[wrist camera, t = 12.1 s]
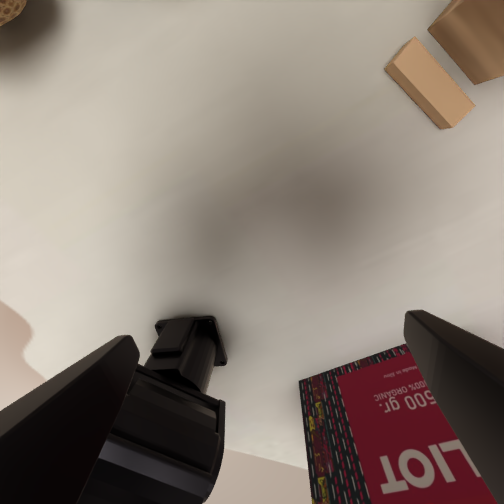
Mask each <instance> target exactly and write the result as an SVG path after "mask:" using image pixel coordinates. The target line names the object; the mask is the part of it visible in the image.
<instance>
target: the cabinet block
mask: <svg viewBox="0 0 504 504" xmlns="http://www.w3.org/2000/svg"><path fill="white" fill-rule="evenodd" d="M428 31H429V32H430V33H431V34H432V35H433V37H434V38H435V39H436V40H437V41H438V42H439V44H440V45H441V46H442V47H443V48H444V50H445V51H446V52H447V53H448V54H449V55H450V57H451V58H452V59H453V60H454V61H455V62H456V64H457V65H458V66H459V67H460V68H461V69H462V71H463V72H464V73H465V74H466V75H467V77H468V78H469V79H470V80H471V81H472V82H473V84H474V85H476V84H479V83H482V82H485V81H488V80H491V79H494V78H497V77H500V76H504V0H452V1H451V2H450V4H449V5H448V6H447V7H446V8H445V9H444V11H443V12H442V13H441V14H440V15H439V17H438V18H437V19H436V20H435V21H434V23H433V24H432V25H431V26H430V27H429V28H428Z"/></svg>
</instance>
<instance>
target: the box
mask: <svg viewBox="0 0 504 504" xmlns="http://www.w3.org/2000/svg"><path fill="white" fill-rule="evenodd" d="M299 388H300V397H301V406H302V416H303V425H304V434H305V443H306V452H307V461H308V470H309V479H310V488H311V497H312V504H498V503H497V502H496V500H495V499H494V497H493V495H492V494H491V492H490V490H489V489H488V487H487V485H486V484H485V482H484V480H483V479H482V477H481V475H480V474H479V472H478V470H477V469H476V467H475V466H474V464H473V462H472V461H471V459H470V457H469V456H468V454H467V452H466V451H465V449H464V447H463V446H462V444H461V442H460V441H459V439H458V438H457V436H456V434H455V433H454V431H453V429H452V428H451V426H450V424H449V423H448V421H447V419H446V418H445V416H444V414H443V413H442V411H441V409H440V408H439V406H438V405H437V403H436V401H435V399H434V398H433V396H432V394H431V393H430V391H429V389H428V387H427V385H426V383H425V381H424V378H423V376H422V374H421V372H420V370H419V368H418V366H417V364H416V362H415V360H414V358H413V356H412V353H411V351H410V349H409V347H408V345H407V343H406V344H403V345H400V346H397V347H394V348H391V349H389V350H386V351H383V352H380V353H377V354H374V355H372V356H369V357H366V358H363V359H360V360H357V361H354V362H352V363H349V364H346V365H343V366H340V367H337V368H334V369H332V370H329V371H326V372H323V373H320V374H317V375H315V376H312V377H309V378H306V379H303V380H300V381H299Z"/></svg>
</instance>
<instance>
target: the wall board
mask: <svg viewBox="0 0 504 504" xmlns="http://www.w3.org/2000/svg"><path fill="white" fill-rule="evenodd" d="M385 70H386V71H387V73H388V74H389V75H390V76H391V77H392V78H393V79H394V80H395V81H396V82H397V83H398V84H399V85H400V86H401V87H402V89H403V90H404V91H405V92H406V93H407V94H408V95H409V96H410V97H411V98H412V99H413V100H414V101H415V102H416V103H417V105H418V106H419V107H420V108H421V109H422V110H423V111H424V112H425V113H426V114H427V115H428V116H429V117H430V118H431V120H432V121H433V122H434V123H435V124H436V125H437V126H438V127H439V128H440V129H446V128H453V127H454V126H455V125H456V124H457V123H458V122H459V121H460V120H461V119H462V118H463V117H464V116H465V115H466V114H467V113H469V112H470V111H471V110H472V109H473V108H474V107H475V104H474V103H473V102H472V101H471V100H470V99H469V98H468V96H467V95H466V94H465V93H464V92H463V91H462V90H461V88H460V87H459V86H458V85H457V84H456V83H455V81H454V80H453V79H452V78H451V77H450V76H449V75H448V73H447V72H446V71H445V70H444V69H443V68H442V67H441V65H440V64H439V63H438V62H437V61H436V60H435V59H434V57H433V56H432V55H431V54H430V53H429V52H428V51H427V49H426V48H425V47H424V46H423V45H422V44H421V43H420V41H419V40H418V39H417V38H416V37H413V38H412V39H411V40H410V41H408V42H407V43H406V44H405V45H404V46H403V47H402V48H401V49H400V51H399V52H398V53H397V54H396V55H395V57H394V58H393V59H392V60H391V62H390V63H389V64H388V65H387V66H386V68H385Z"/></svg>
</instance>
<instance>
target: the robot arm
mask: <svg viewBox="0 0 504 504" xmlns="http://www.w3.org/2000/svg"><path fill="white" fill-rule="evenodd" d="M209 321H212V322H209ZM159 325H160V326H159ZM155 329H156V331H157V333H158V336H159V338H158V339H157V341H156V343H155V344H154V346H153V348H152V349H151V355H150V357H149V358H148V360H147V362H146V363H145V365H144V366H141V365H139V364H138V361H139V358H140V353H139V350H138V348H137V346H136V344H135V341H134V339H133V337H132V336H130V335H120V336H117V337H115V338H114V339H112V340H111V341H109V342H108V343H106V344H104V345H103V346H101V347H100V348H98V349H97V350H95V351H93V352H92V353H90V354H89V355H87V356H86V357H84V358H82V359H81V360H79V361H78V362H76V363H75V364H73V365H71V366H70V367H68V368H67V369H65V370H64V371H62V372H61V373H59V374H57V375H56V376H54V377H53V378H51V379H50V380H48V381H47V382H45V383H43V384H42V385H40V386H39V387H37V388H36V389H34V390H33V391H31V392H29V393H28V394H26V395H25V396H23V397H21V398H20V399H18V400H17V401H15V402H14V403H12V404H11V405H9V406H7V407H6V408H4V409H3V410H1V411H0V504H202V503H204V502H205V501H206V500H207V499H208V497H209V495H210V494H211V492H212V490H213V487H214V485H215V482H216V480H217V477H218V474H219V471H220V467H221V463H222V458H223V453H224V437H225V402H224V401H222V400H217V399H215V398H213V397H210V396H208V395H206V392H207V388H208V384H209V381H210V377H211V374H212V370H213V367H214V366H225V365H226V364H227V356H226V353H225V350H224V346H223V343H222V340H221V336H220V333H219V329H218V326H217V323H216V319H215V318H214V317H212V316H206V317H196V318H183V319H173V320H164V321H158V322H157V323H156V325H155ZM404 338H405V341H406V343H407V345H408V347H409V349H410V351H411V353H412V356H413V358H414V360H415V362H416V364H417V366H418V368H419V370H420V372H421V374H422V376H423V378H424V381H425V383H426V385H427V387H428V389H429V391H430V393H431V394H432V396H433V398H434V399H435V401H436V403H437V405H438V406H439V408H440V409H441V411H442V413H443V414H444V416H445V418H446V419H447V421H448V423H449V424H450V426H451V428H452V429H453V431H454V433H455V434H456V436H457V438H458V439H459V441H460V442H461V444H462V446H463V447H464V449H465V451H466V452H467V454H468V456H469V457H470V459H471V461H472V462H473V464H474V466H475V467H476V469H477V470H478V472H479V474H480V475H481V477H482V479H483V480H484V482H485V484H486V485H487V487H488V489H489V490H490V492H491V494H492V495H493V497H494V499H495V500H496V502H497V503H498V504H504V349H503V348H501V347H499V346H497V345H495V344H492V343H490V342H488V341H486V340H484V339H482V338H480V337H478V336H476V335H474V334H472V333H470V332H468V331H465V330H463V329H461V328H459V327H457V326H455V325H453V324H451V323H449V322H447V321H445V320H443V319H441V318H439V317H436V316H434V315H432V314H430V313H428V312H426V311H424V310H411V311H407V312H406V314H405V322H404Z"/></svg>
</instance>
